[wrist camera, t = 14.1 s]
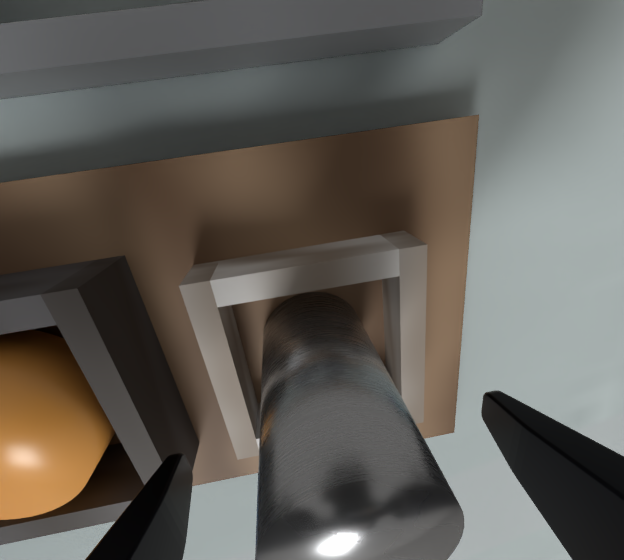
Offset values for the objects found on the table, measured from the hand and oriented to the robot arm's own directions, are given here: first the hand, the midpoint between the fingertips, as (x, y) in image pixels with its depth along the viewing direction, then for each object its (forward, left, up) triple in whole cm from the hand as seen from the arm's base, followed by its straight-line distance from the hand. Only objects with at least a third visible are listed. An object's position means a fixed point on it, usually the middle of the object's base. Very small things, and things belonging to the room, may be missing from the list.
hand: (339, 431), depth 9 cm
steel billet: (0, 0, -5) cm, 5 cm away
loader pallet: (-5, 0, -6) cm, 8 cm away
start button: (-12, 0, -4) cm, 12 cm away
